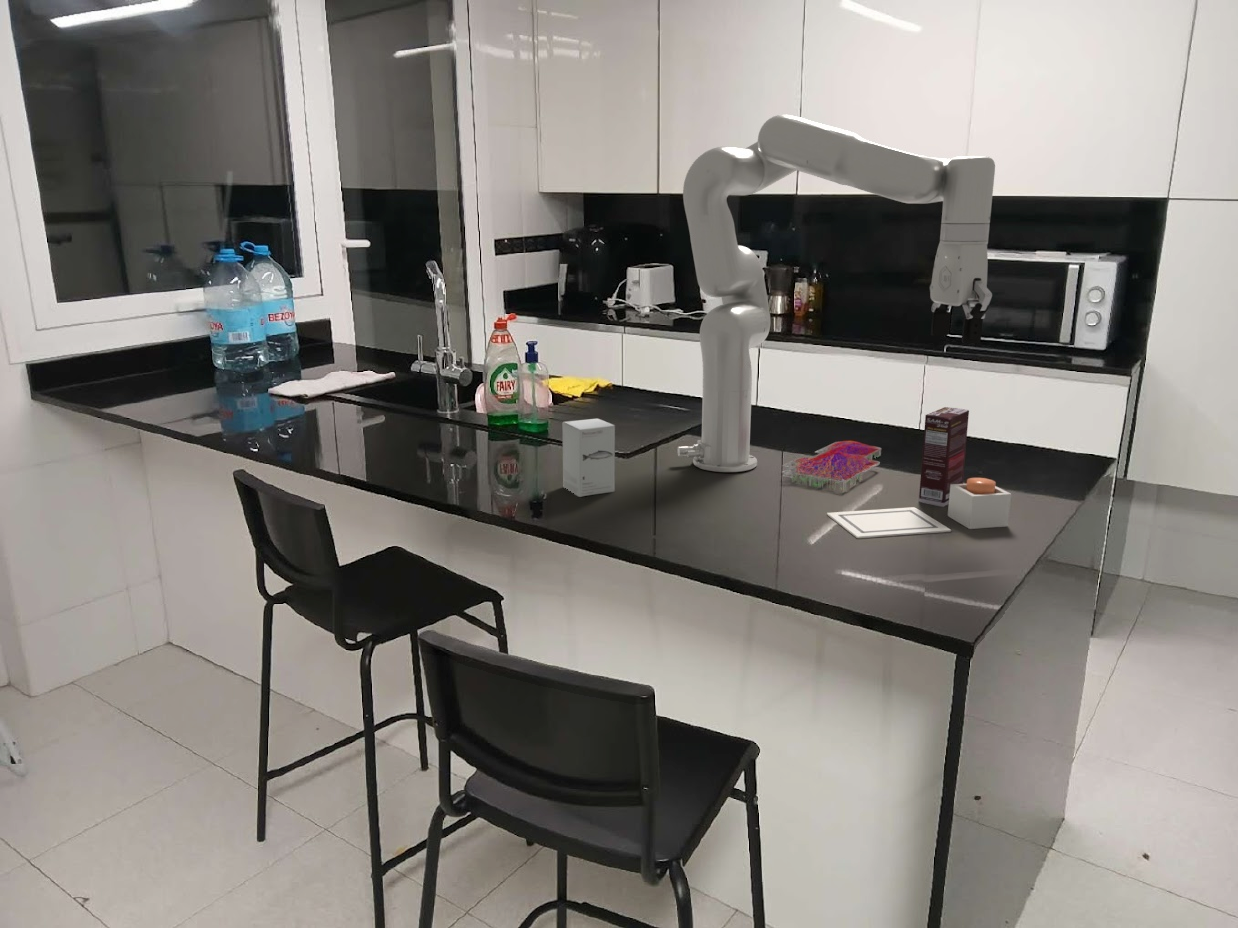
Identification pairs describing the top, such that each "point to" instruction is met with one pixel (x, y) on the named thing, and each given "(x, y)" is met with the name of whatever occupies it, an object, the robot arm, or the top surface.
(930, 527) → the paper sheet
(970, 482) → the button
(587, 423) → the supplement box
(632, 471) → the top surface
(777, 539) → the top surface
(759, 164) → the robot arm
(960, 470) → the supplement box
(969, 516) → the button housing
